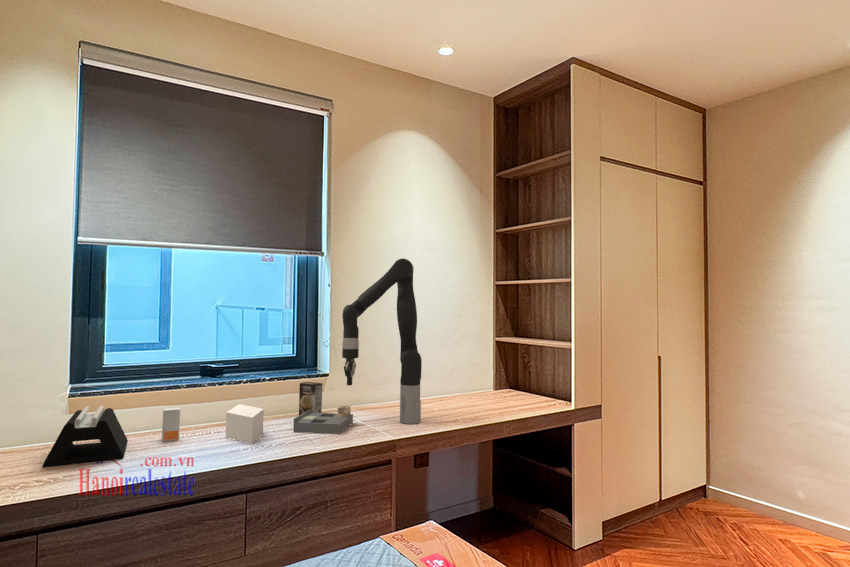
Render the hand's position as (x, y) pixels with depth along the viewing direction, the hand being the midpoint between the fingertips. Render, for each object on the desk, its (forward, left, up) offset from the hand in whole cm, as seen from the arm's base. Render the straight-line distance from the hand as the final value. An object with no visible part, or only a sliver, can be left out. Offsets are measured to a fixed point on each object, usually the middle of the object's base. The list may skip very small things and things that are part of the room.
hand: (349, 385), depth 235 cm
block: (0, +8, -12) cm, 15 cm away
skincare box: (+59, +44, -17) cm, 75 cm away
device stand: (+75, +66, -17) cm, 102 cm away
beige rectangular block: (+34, +33, -17) cm, 50 cm away
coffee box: (+20, -4, -17) cm, 26 cm away
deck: (+7, +14, -16) cm, 23 cm away
